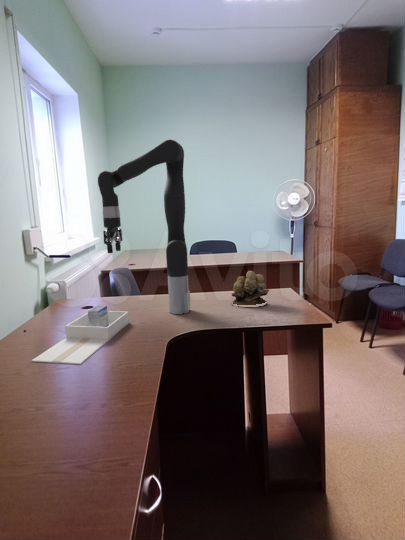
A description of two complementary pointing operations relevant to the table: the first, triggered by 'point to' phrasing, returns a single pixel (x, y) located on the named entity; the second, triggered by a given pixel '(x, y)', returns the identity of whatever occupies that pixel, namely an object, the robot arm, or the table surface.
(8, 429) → the table surface
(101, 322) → the medicine box
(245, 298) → the brown lumpy mound
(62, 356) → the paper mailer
